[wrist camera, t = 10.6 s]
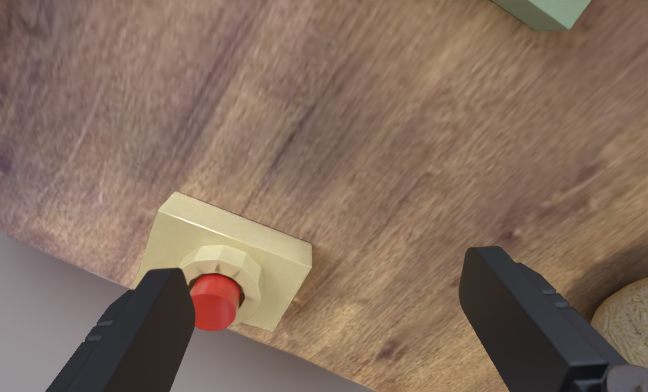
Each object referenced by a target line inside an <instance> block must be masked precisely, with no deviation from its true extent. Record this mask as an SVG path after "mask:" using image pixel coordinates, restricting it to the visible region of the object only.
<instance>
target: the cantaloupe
mask: <svg viewBox="0 0 648 392" xmlns="http://www.w3.org/2000/svg"><path fill="white" fill-rule="evenodd" d="M590 325H591V326H592V327H593V328H594V329H595V330H596V331H597V332H598V333H599V334H600V335H601V336H602V337H603V338H604V339H605V340H606V341H607V342H608V343H609V344H610V345H611V346H612V347H613V348H614V349H615V350H616V351H617V352H618V353H619V354H620V355H621V356H622V357H623V358H624V359H625V360H626V361H627V362H628V363H630V364H631V365H638V366H642V367H646V368H648V277H645V278H643V279H640V280H638V281H635V282H633V283H631V284H629V285H627V286H625V287H623V288H622V289H620V290H619V291H617V292H616V293H614V294H613V295H611V296H610V297H608V298H607V299H606V300H605V301H604V302H603V303H602V304H601V305H600V306H599V307H598V308H597V310H596V312H595V314H594V316H593V318H592V321H591V324H590Z"/></svg>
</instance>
